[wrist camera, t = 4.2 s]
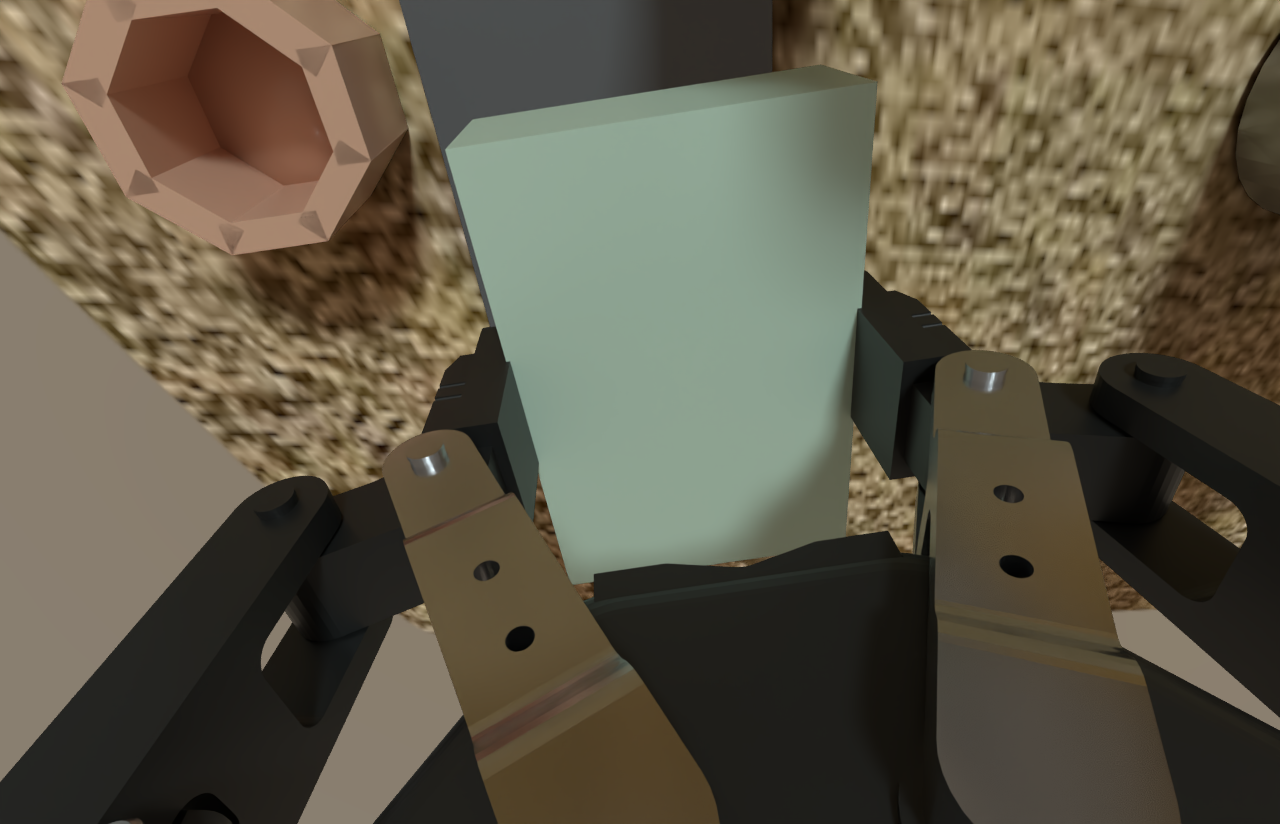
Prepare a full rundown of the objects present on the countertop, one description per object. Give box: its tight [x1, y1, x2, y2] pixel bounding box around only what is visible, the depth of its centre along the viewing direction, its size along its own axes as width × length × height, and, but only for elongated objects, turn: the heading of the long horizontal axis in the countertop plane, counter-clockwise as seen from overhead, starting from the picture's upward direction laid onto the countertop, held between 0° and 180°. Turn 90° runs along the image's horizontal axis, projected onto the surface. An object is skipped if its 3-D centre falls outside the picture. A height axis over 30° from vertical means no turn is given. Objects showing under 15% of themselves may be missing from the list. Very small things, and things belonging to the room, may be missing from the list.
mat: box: [399, 0, 772, 327], centre depth 20 cm, size 10×12×1 cm
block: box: [445, 65, 877, 585], centre depth 12 cm, size 6×9×2 cm, turn 8°
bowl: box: [62, 0, 408, 255], centre depth 17 cm, size 6×6×4 cm
